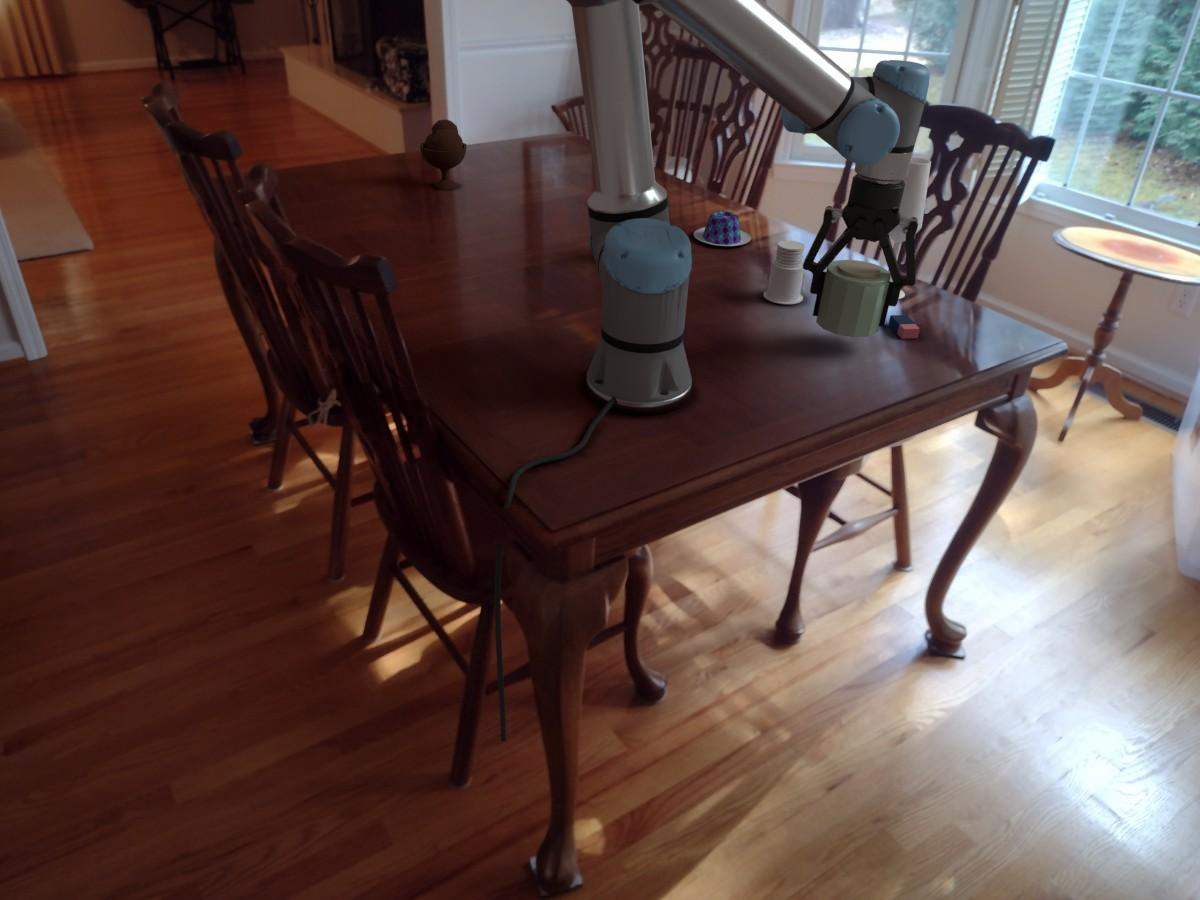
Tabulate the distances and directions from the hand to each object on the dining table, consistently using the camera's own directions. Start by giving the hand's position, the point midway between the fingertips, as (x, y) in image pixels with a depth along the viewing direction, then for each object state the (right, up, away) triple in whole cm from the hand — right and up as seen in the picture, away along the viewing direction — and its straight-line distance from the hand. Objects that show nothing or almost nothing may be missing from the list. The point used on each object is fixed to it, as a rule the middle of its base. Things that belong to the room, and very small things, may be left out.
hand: (848, 318), depth 139 cm
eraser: (+11, -1, +8) cm, 14 cm away
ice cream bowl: (-77, +42, +69) cm, 111 cm away
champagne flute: (+14, +8, +22) cm, 27 cm away
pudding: (-14, +23, +44) cm, 52 cm away
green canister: (0, -1, +1) cm, 1 cm away
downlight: (-7, +6, +18) cm, 21 cm away
